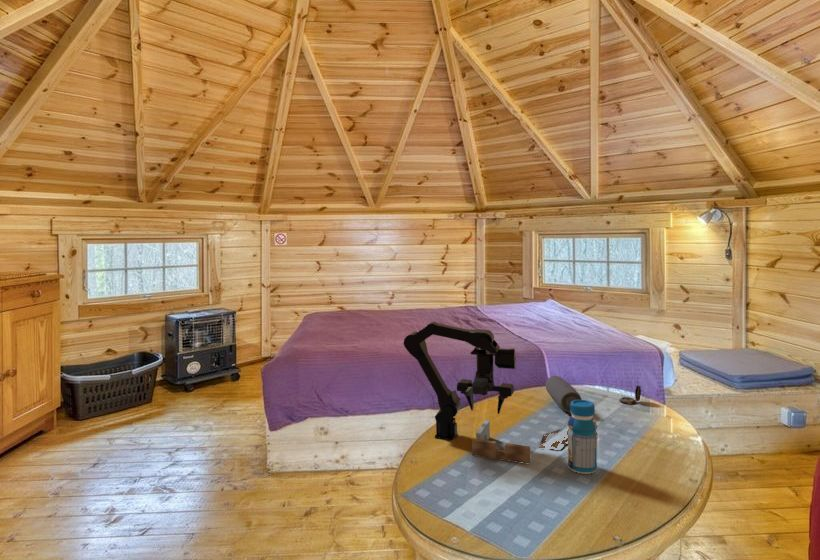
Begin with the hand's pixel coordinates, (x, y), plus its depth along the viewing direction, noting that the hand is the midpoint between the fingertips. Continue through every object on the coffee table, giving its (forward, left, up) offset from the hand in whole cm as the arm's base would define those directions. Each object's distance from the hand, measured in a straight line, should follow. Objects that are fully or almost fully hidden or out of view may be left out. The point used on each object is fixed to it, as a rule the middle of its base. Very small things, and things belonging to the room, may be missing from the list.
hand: (485, 411), depth 164 cm
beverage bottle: (+32, -10, -10) cm, 35 cm away
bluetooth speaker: (+21, +44, -10) cm, 49 cm away
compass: (+46, +56, -10) cm, 73 cm away
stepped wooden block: (+8, -12, -10) cm, 18 cm away
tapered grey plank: (0, -3, -10) cm, 10 cm away
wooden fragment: (+24, +11, -10) cm, 28 cm away
